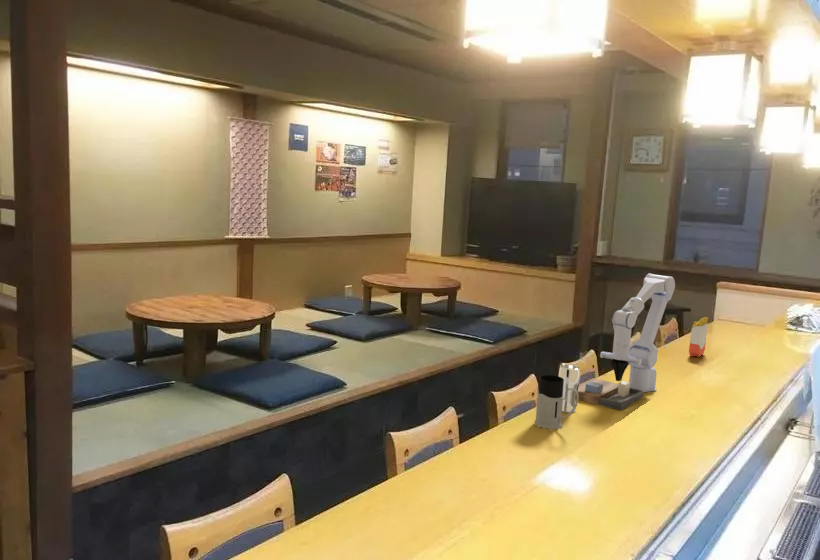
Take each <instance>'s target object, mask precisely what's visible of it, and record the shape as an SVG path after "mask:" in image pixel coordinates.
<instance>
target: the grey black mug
mask: <svg viewBox="0 0 820 560" xmlns="http://www.w3.org/2000/svg"><path fill="white" fill-rule="evenodd" d="M538 380H539V381H538V386H537V398H536V412H535V413H536V414H535V420H534V421H533V424H534V423H535V424H536V425H537V426H539V427H538V428H540V427H542V428H541V429H543V428H548V429H547V430H551V429H555V430H559V428H560V429H561V427H562V428H563V424H562V420H563V419H565V418H567V417H568V416H569V415H571V414H573V413H574V412H573V411H574V410H575V408H576V409H577V407H578V403H579V400H578V399H579V396H578V392H577V391H576V390H575V389H573V388H569V389H567V390H566V392H565V398H563V385H564V379H563V378H561V377H559V375H551V374H545V375H540V376H539V379H538ZM570 389H572V390H574V391H575V392H576V395H577V399H576V400H575V407H574V408H573V410H572V411H571V412H570V413H567V414H565V415H564V416H563V415H562V414H563V412H562V404H563V400H564V399H566V397H567V392H568V391H569V390H570ZM572 412H573V413H572ZM535 424H534V425H535ZM536 425H535V426H536ZM537 426H536V427H537Z"/></svg>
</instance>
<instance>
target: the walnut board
mask: <svg viewBox="0 0 820 560" xmlns="http://www.w3.org/2000/svg"><path fill="white" fill-rule="evenodd" d="M589 382H595V383H600V384H603V391H602V392H600V393H598V394H596V393H592V392H588V391H585V388H586V384H587V383H589ZM577 392H578V396H579V399H578V401H581V402H582V401H583V402H587V403H590V404H595V405H599V406H601V405H600V398H605V399H607V398H609V397H611V396H612V395H614V394H616V393H618V383H617V382H612V381H608V380H605V379H604V380H603V379H599V378H595V377H593V378H590V379H587V380H586V381H583V382H582V383H579V387H578V391H577ZM576 400H577V395H576Z"/></svg>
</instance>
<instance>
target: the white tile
mask: <svg viewBox="0 0 820 560" xmlns="http://www.w3.org/2000/svg"><path fill="white" fill-rule="evenodd" d="M617 384H618V394H617V395H618V396H622V397H625V396H627V395H629V388H630V382H629V381H626V380H621V381H619V382H618V383H617Z"/></svg>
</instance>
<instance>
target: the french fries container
mask: <svg viewBox="0 0 820 560" xmlns="http://www.w3.org/2000/svg"><path fill="white" fill-rule="evenodd" d="M708 319H709V317H705V316H704V317H701V318H700V319H699V320H698V321H696V320H695V321H693V325H692V326H691V332H690V339H689V347H688V348H689V349H688V354H689V356H690V357H693V356H697V357H696V358H699V357H700V356H701V355H702V354H703V355H704V353H705V350H706V344H707V342H706V341H707V333H708V326H709V325H708V324H709V323H708ZM701 357H702V356H701ZM701 357H700V358H701Z"/></svg>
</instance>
